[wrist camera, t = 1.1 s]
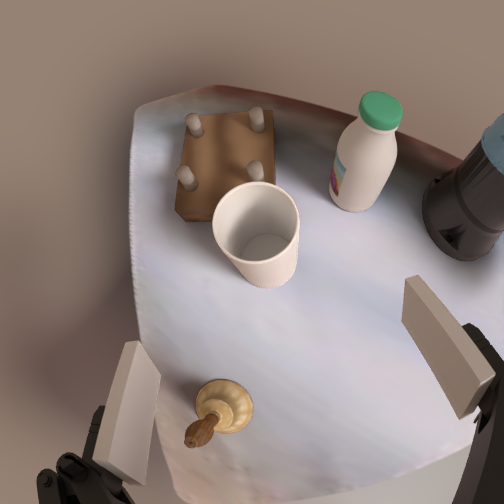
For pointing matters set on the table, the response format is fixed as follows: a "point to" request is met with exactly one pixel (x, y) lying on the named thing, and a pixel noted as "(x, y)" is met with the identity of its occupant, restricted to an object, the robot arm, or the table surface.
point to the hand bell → (219, 411)
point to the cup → (259, 232)
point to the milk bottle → (366, 153)
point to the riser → (223, 159)
